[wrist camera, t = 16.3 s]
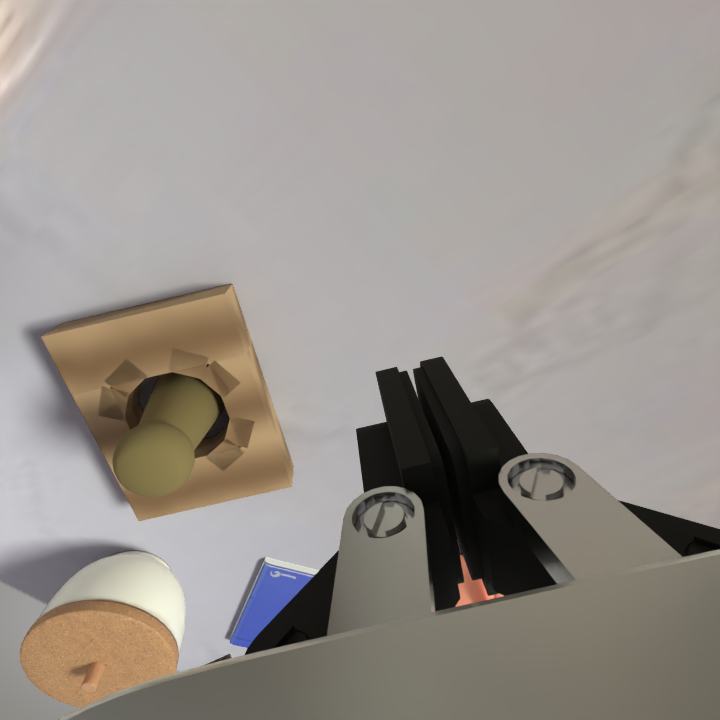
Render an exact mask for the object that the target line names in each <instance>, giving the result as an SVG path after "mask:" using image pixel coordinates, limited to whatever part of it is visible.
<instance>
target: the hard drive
mask: <svg viewBox="0 0 720 720" xmlns="http://www.w3.org/2000/svg"><path fill="white" fill-rule="evenodd" d="M318 571H319V570H317V569H313V568H309V567H305V566H300V565H296V564H292V563H288V562H284V561H280V560H276V559H272V558H268V557H265V559H264V562H263V564H262V566H261V568H260V571H259V573H258V575H257V577H256V580H255V582H254V584H253V586H252V589H251V591H250V593H249V596H248V598H247V600H246V602H245V605H244V607H243V609H242V611H241V614H240V616H239V618H238V621H237V623H236V625H235V627H234V630H233V632H232V634H231V637H230V643H231V644H233V645H237V646H242V647H247V648H248V647H249V646H250V644H251V643H252V642H253V640H254V639H255V638H256V636H257V635H258V634H259V633H260V632H261V631H262V630H263V629H264V628H265V627H266V626H267V625H268V623H269V622H270V621H271V620H272V619H273V618H274V617H275V616H276V615H277V614H278V613H279V612H280V611H281V610H282V609H283V608H284V607H285V606H286V605H287V604H288V603H289V602H290V601H291V599H292V598H293V597H294V596H295V595H296V594H297V593H298V592H299V591H300V590H301V589H302V588H303V587H304V586H305V585H306V584H307V583H308V582H309V581H310V580H311V579H312V578H313V577H314V575H315V574H316V573H317V572H318Z"/></svg>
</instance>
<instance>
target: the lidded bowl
mask: <svg viewBox="0 0 720 720" xmlns="http://www.w3.org/2000/svg"><path fill="white" fill-rule="evenodd" d="M185 621H186V604H185V597H184V593H183V590H182V587H181V585H180V583H179V581H178V579H177V578H176V576H175V575H174V574H173V573H172V571H171V569H170V567H169V566H168V565H167V563H165V562H164V561H163V560H162V559H160V558H159V557H157V556H155V555H153V554H150V553H146V552H142V551H125V552H121V553H118V554H115V555H113V556H109V557H105V558H102V559H100V560H97V561H95V562H93V563H91V564H89V565H87V566H86V567H84V568H83V569H81V570H80V571H79V572H77V573H76V574H75V575H73V576H72V577H71V578H70V579H69V580H68V581H67V582H66V583H65V584H64V585H63V586H62V587H61V588H60V590H59V591H58V592H57V593H56V594H55V596H54V597H53V598H52V599H51V601H50V602H49V603H48V605H47V606H46V608H45V609H44V611H43V612H42V613H41V615H40V617H39V618H38V619H37V621H36V622H35V623H34V624H33V625H32V627H31V628H30V630H29V631H28V633H27V634H26V636H25V638H24V640H23V642H22V644H21V649H20V662H21V665H22V668H23V670H24V672H25V674H26V676H27V678H28V679H29V680H30V681H31V682H32V683H33V684H34V685H35V686H36V687H37V688H38V689H39V690H40V691H42V692H43V693H45V694H47V695H48V696H50V697H52V698H54V699H56V700H58V701H60V702H63V703H66V704H69V705H72V706H76V707H80V708H82V707H84V706H86V705H88V704H91V703H93V702H95V701H97V700H99V699H101V698H104V697H106V696H108V695H110V694H113V693H116V692H118V691H121V690H124V689H127V688H129V687H132V686H135V685H138V684H141V683H143V682H146V681H149V680H152V679H155V678H159V677H163V676H167V675H170V674H174V673H175V671H176V668H177V664H178V657H179V651H180V648H181V644H182V640H183V635H184V628H185Z"/></svg>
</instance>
